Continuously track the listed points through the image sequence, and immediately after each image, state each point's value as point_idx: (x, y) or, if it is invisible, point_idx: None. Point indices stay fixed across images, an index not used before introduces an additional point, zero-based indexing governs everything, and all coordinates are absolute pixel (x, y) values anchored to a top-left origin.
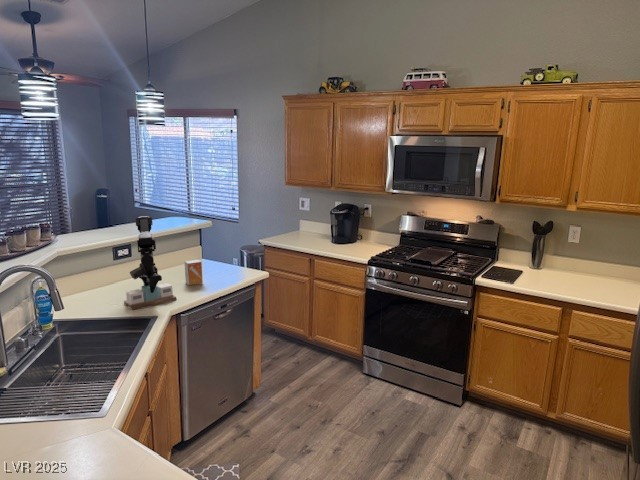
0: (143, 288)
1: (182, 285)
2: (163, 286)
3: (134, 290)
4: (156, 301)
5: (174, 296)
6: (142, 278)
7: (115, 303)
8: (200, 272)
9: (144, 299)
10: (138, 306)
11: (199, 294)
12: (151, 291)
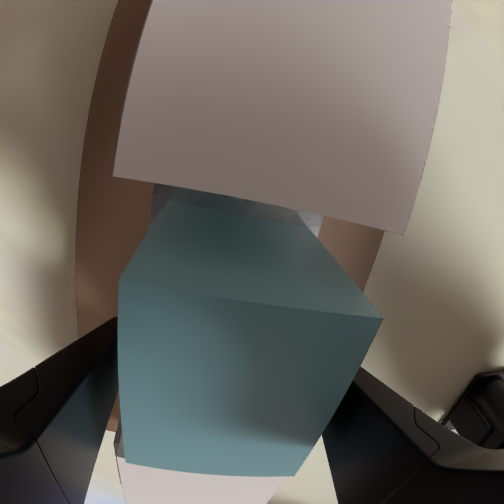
0: (263, 296)
1: (327, 501)
2: (162, 489)
3: (398, 123)
4: (81, 274)
5: (114, 428)
6: (477, 498)
7: (470, 46)
8: None
9: (233, 210)
10: (107, 44)
11: (112, 489)
12: (97, 333)
